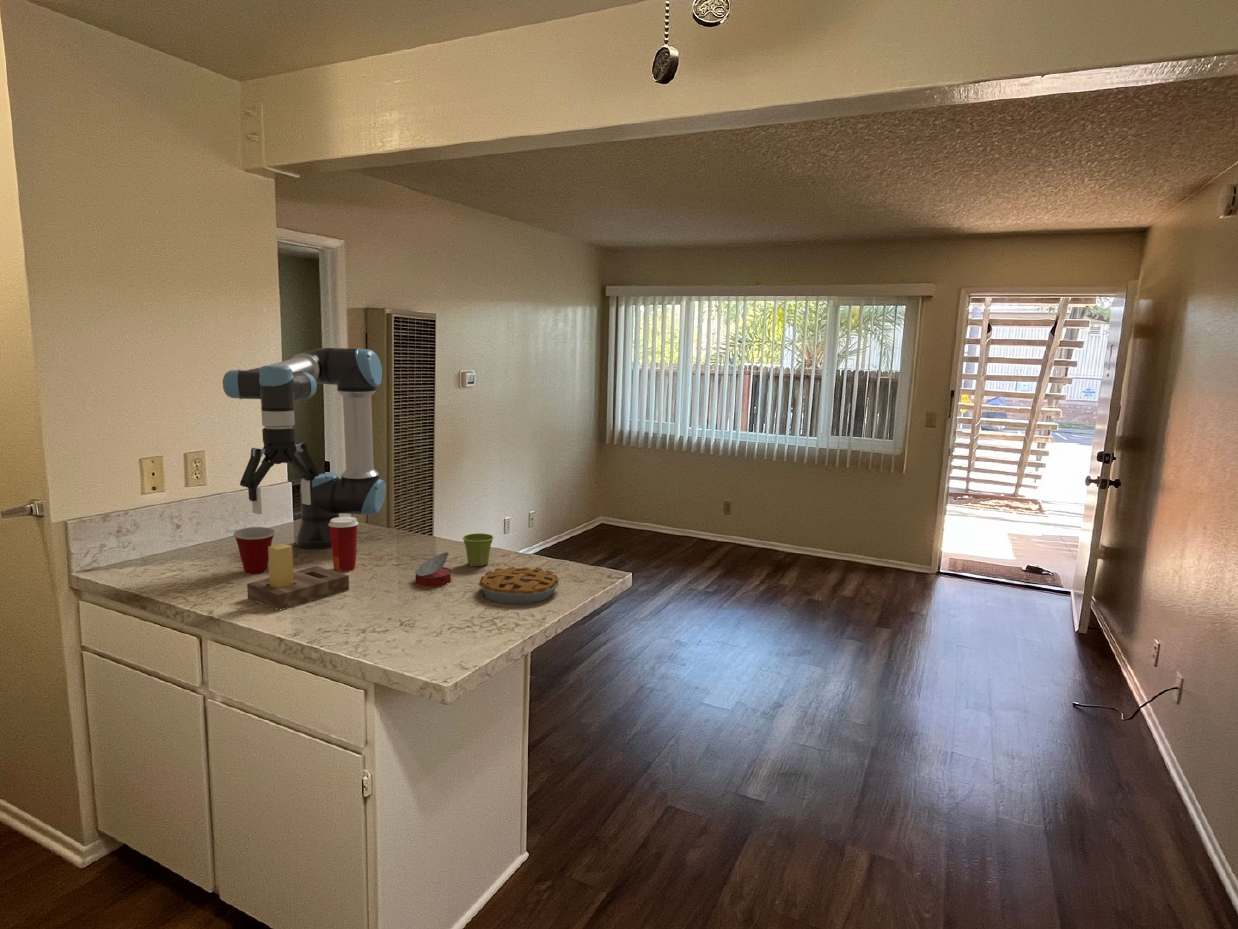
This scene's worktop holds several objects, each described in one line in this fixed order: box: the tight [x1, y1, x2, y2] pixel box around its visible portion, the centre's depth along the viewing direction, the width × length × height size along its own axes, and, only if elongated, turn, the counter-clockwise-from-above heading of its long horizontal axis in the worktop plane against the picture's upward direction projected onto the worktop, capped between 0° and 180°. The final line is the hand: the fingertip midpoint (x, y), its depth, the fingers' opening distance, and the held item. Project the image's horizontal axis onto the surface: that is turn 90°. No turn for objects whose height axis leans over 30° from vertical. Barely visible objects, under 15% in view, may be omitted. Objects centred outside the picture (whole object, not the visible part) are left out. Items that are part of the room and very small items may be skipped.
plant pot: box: [462, 532, 495, 567], centre depth 218 cm, size 9×9×9 cm
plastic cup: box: [232, 526, 276, 575], centre depth 204 cm, size 11×11×12 cm
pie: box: [478, 566, 560, 604], centre depth 194 cm, size 22×22×5 cm
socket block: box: [246, 565, 350, 611], centre depth 187 cm, size 20×14×4 cm
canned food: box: [415, 551, 452, 588], centre depth 200 cm, size 11×10×10 cm
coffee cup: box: [328, 516, 359, 573], centre depth 209 cm, size 8×8×15 cm
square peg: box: [268, 543, 294, 589], centre depth 182 cm, size 4×4×14 cm
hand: (282, 508), depth 183 cm, fingers open, 13 cm apart
